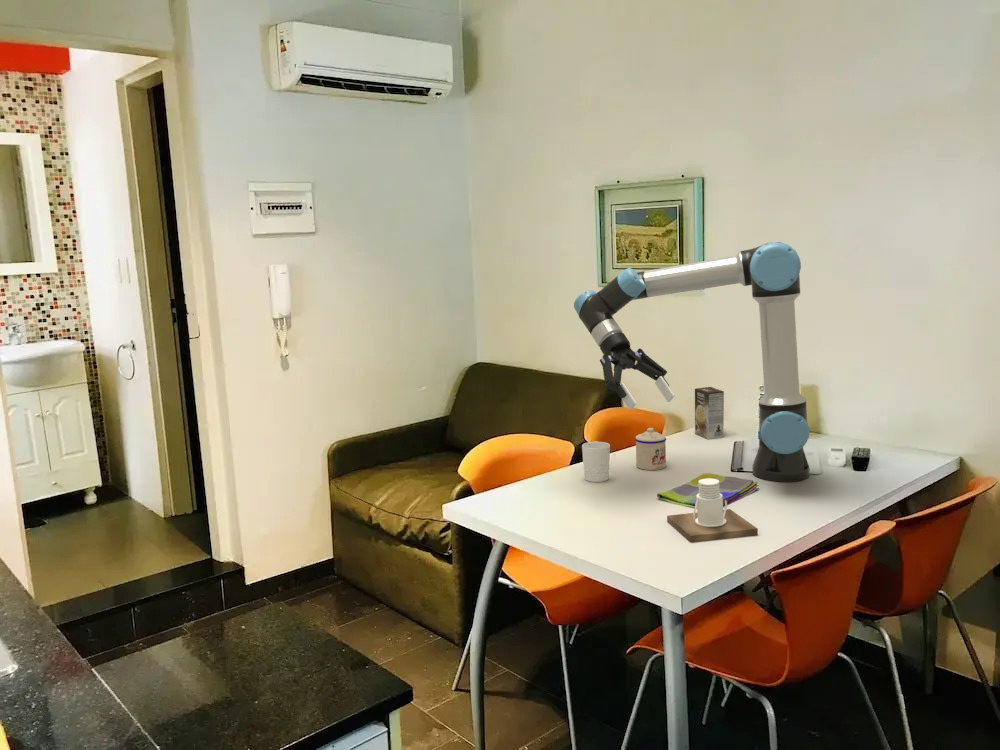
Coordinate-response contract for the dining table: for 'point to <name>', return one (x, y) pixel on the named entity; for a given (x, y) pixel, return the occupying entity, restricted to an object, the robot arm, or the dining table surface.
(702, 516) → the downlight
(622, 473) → the dining table surface
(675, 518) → the walnut board
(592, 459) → the white cup
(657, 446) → the teacup with lid
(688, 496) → the dish towel
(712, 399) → the coffee box
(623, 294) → the robot arm
